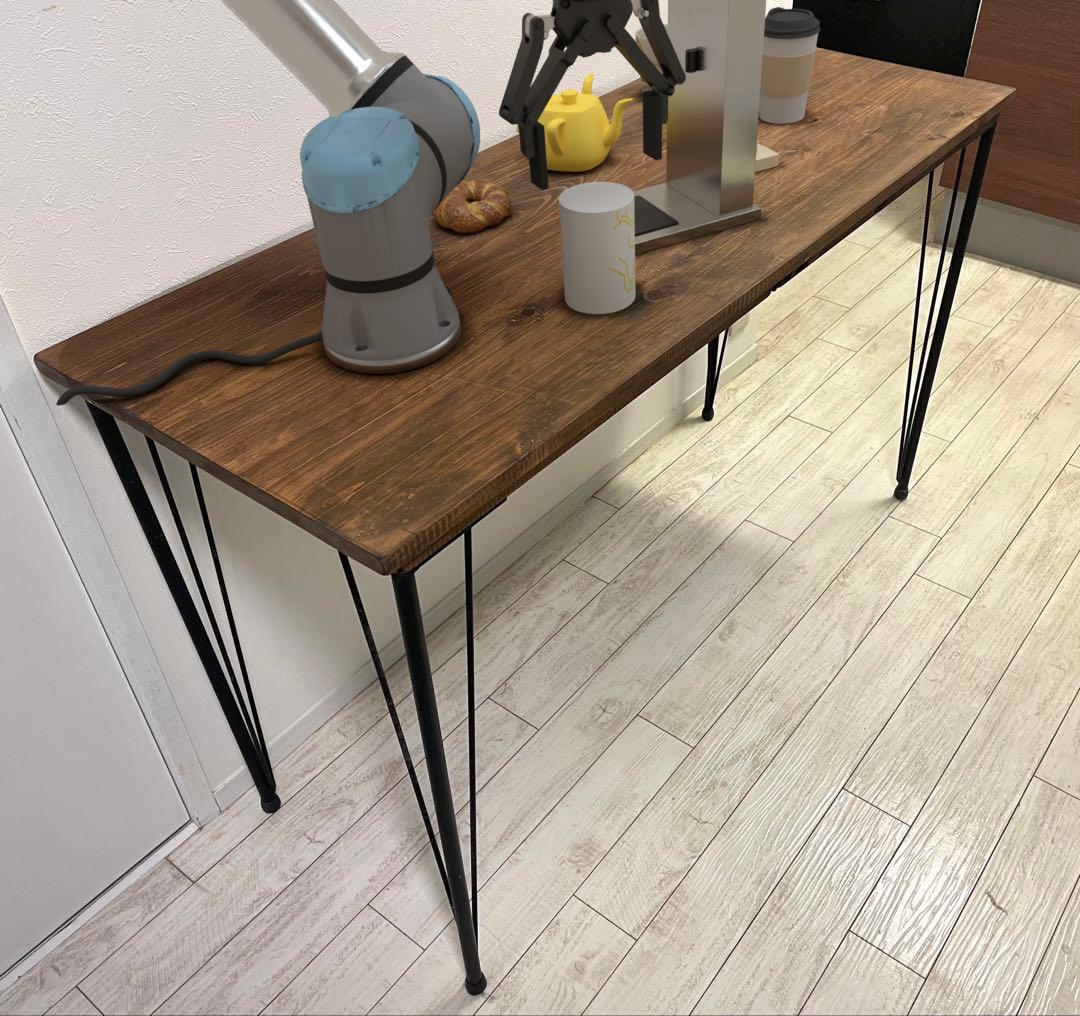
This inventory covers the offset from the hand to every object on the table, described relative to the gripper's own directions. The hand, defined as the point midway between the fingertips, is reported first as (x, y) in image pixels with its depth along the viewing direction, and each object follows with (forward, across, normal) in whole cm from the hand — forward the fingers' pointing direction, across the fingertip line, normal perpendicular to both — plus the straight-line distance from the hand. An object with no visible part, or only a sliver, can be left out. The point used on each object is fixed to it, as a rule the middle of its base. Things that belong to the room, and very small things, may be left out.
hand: (597, 170), depth 108 cm
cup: (+15, 0, 0) cm, 15 cm away
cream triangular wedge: (+15, +34, +24) cm, 44 cm away
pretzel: (+15, -4, +29) cm, 33 cm away
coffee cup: (+15, +51, +36) cm, 64 cm away
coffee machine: (+15, +18, +14) cm, 27 cm away
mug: (+15, +43, +55) cm, 71 cm away
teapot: (+15, +17, +39) cm, 45 cm away
